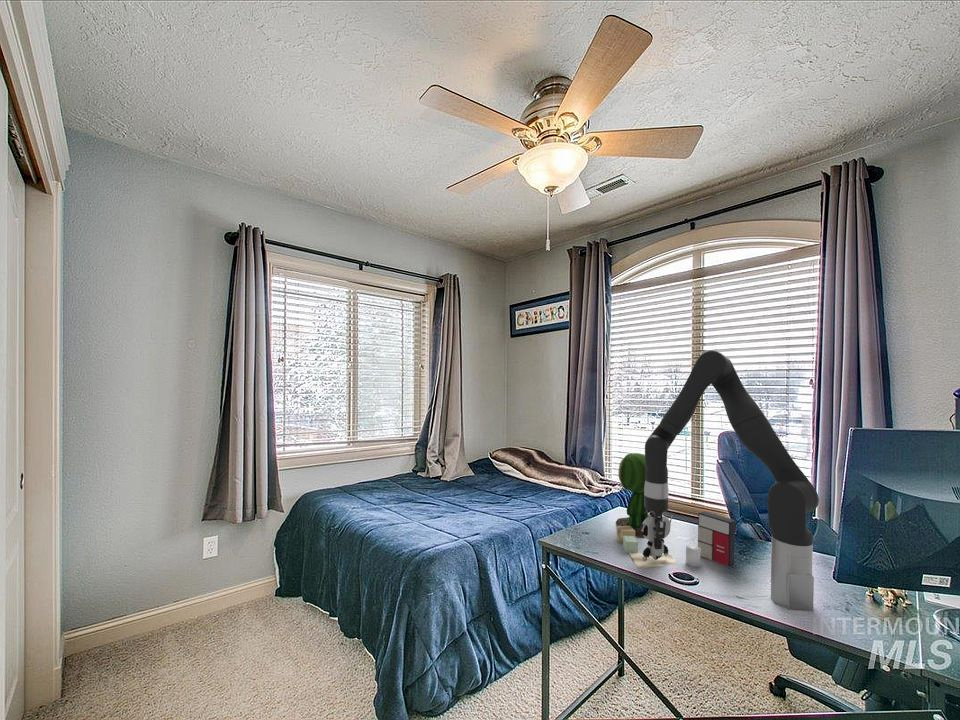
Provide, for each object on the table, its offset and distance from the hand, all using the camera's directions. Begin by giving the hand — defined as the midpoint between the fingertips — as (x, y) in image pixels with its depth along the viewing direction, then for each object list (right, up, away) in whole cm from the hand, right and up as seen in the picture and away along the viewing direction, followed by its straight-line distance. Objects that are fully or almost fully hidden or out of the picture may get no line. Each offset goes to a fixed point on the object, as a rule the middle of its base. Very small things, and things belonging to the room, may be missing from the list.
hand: (655, 544), depth 149 cm
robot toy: (0, -5, +1) cm, 5 cm away
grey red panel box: (+21, -6, +2) cm, 22 cm away
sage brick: (-5, -6, +10) cm, 13 cm away
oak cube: (-4, -6, +17) cm, 18 cm away
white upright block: (+12, -6, -2) cm, 13 cm away
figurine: (+5, -6, +30) cm, 31 cm away
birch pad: (0, -6, 0) cm, 6 cm away
